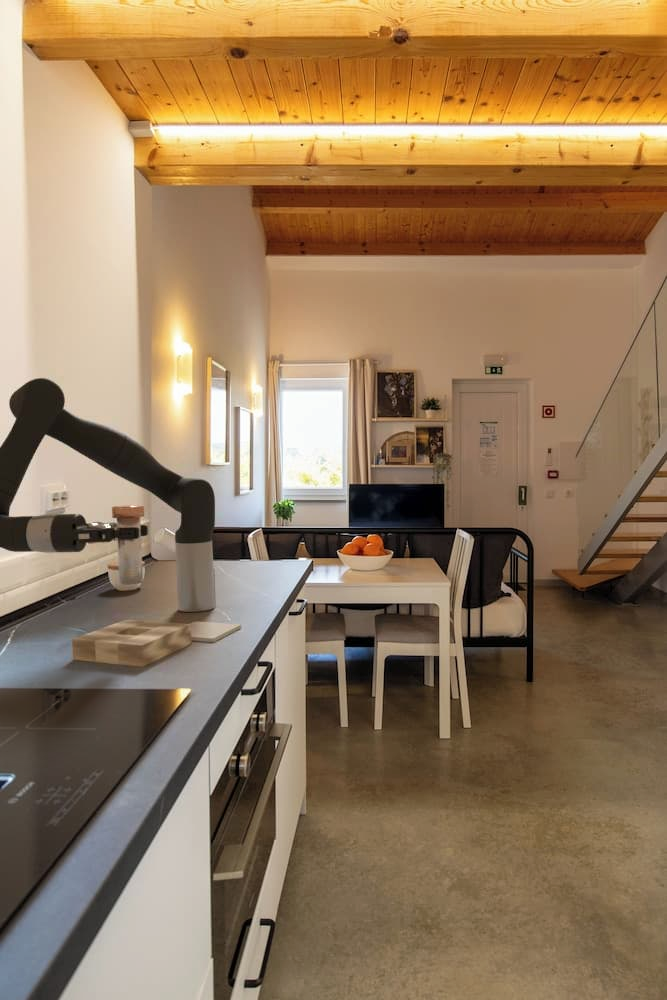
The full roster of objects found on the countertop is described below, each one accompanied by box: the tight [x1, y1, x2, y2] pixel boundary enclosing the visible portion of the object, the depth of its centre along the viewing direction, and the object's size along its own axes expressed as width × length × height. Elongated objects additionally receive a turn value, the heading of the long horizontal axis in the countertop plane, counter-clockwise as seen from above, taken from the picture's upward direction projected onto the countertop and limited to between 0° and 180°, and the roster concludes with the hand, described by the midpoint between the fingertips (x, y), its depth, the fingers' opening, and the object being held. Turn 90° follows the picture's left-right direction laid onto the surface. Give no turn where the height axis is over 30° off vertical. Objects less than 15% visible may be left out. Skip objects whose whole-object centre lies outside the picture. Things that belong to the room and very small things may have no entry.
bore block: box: [71, 619, 192, 668], centre depth 130 cm, size 16×16×4 cm
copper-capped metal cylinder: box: [111, 504, 145, 585], centre depth 129 cm, size 6×6×15 cm
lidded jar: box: [107, 560, 146, 592], centre depth 198 cm, size 11×11×9 cm
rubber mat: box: [189, 620, 242, 643], centre depth 143 cm, size 12×12×1 cm
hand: (142, 531), depth 129 cm, fingers closed on copper-capped metal cylinder, 4 cm apart
